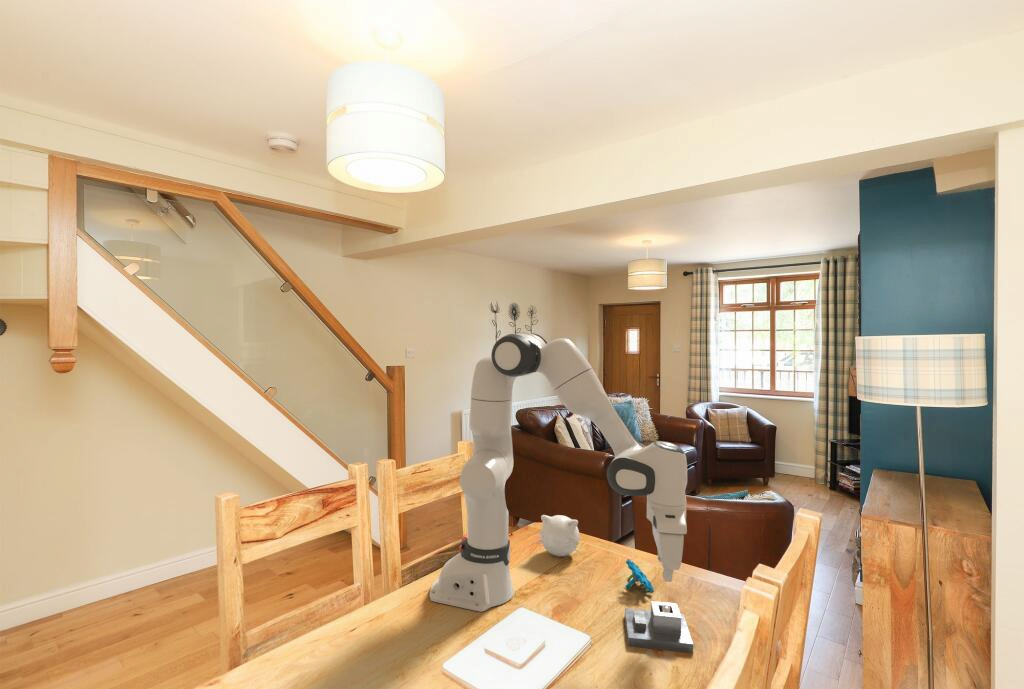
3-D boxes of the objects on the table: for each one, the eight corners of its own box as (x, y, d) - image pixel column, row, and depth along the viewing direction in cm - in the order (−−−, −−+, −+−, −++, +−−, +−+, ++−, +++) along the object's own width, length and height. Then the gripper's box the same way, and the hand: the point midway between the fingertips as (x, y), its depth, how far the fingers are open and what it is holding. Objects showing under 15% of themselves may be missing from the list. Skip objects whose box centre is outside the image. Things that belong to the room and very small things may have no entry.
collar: (653, 632, 115) (654, 615, 115) (650, 617, 121) (651, 601, 121) (680, 634, 115) (681, 617, 114) (676, 619, 120) (676, 603, 120)
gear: (657, 594, 133) (630, 563, 135) (641, 609, 133) (614, 578, 135) (653, 579, 144) (628, 551, 146) (638, 593, 144) (613, 565, 146)
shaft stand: (628, 646, 113) (628, 617, 113) (624, 616, 125) (625, 590, 125) (693, 652, 111) (693, 624, 111) (683, 621, 123) (683, 595, 123)
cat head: (587, 549, 163) (588, 512, 163) (578, 567, 151) (578, 527, 150) (543, 542, 168) (544, 506, 168) (530, 558, 156) (531, 519, 156)
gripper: (647, 496, 128) (646, 549, 129) (657, 527, 108) (656, 590, 109) (673, 498, 127) (671, 552, 128) (688, 530, 107) (686, 593, 108)
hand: (664, 570), depth 118 cm, fingers open, 8 cm apart
